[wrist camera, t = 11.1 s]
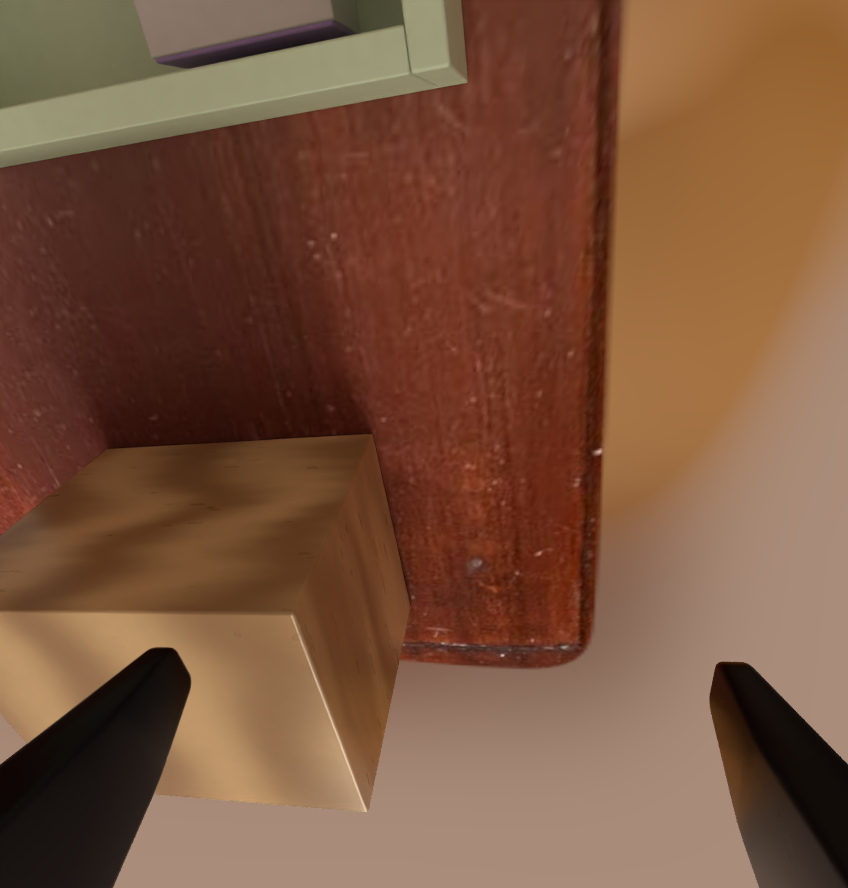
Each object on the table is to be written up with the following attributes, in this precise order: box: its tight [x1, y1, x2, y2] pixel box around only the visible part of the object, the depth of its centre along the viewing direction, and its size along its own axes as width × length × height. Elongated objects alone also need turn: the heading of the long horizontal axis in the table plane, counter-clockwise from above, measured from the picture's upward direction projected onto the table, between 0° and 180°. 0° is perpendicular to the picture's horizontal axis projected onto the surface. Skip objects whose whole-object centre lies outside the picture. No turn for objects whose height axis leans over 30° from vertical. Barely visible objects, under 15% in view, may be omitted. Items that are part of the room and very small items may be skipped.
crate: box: [0, 434, 410, 812], centre depth 20 cm, size 12×10×9 cm
